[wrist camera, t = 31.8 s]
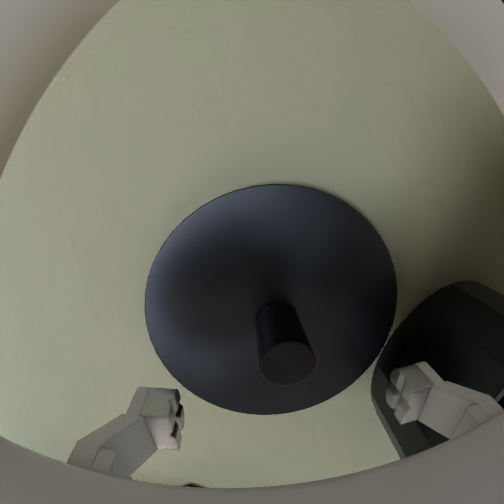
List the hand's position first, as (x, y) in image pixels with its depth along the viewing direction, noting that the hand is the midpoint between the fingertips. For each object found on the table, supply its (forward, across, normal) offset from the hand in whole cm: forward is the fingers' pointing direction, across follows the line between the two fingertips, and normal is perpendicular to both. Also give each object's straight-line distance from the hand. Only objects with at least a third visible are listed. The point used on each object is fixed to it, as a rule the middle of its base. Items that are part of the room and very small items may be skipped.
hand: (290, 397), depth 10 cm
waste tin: (+7, -14, +6) cm, 17 cm away
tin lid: (+7, 0, 0) cm, 7 cm away
